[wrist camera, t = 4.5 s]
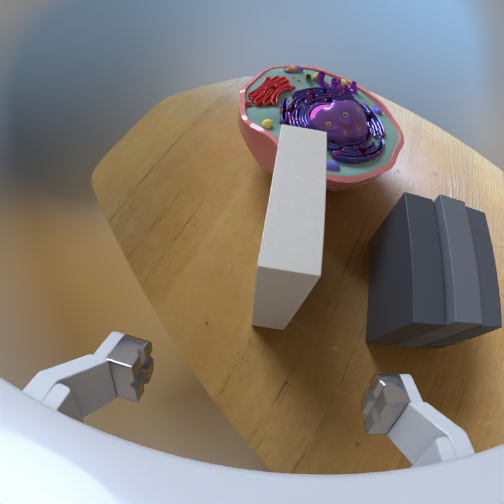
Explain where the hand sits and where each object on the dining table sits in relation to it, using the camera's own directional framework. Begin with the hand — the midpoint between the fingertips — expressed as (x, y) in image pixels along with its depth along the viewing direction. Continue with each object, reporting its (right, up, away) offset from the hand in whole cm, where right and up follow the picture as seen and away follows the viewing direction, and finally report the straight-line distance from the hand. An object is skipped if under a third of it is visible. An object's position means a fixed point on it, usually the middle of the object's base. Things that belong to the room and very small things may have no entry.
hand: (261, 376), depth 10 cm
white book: (+2, +2, +19) cm, 19 cm away
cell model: (+7, +16, +25) cm, 31 cm away
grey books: (+16, 0, +18) cm, 24 cm away
